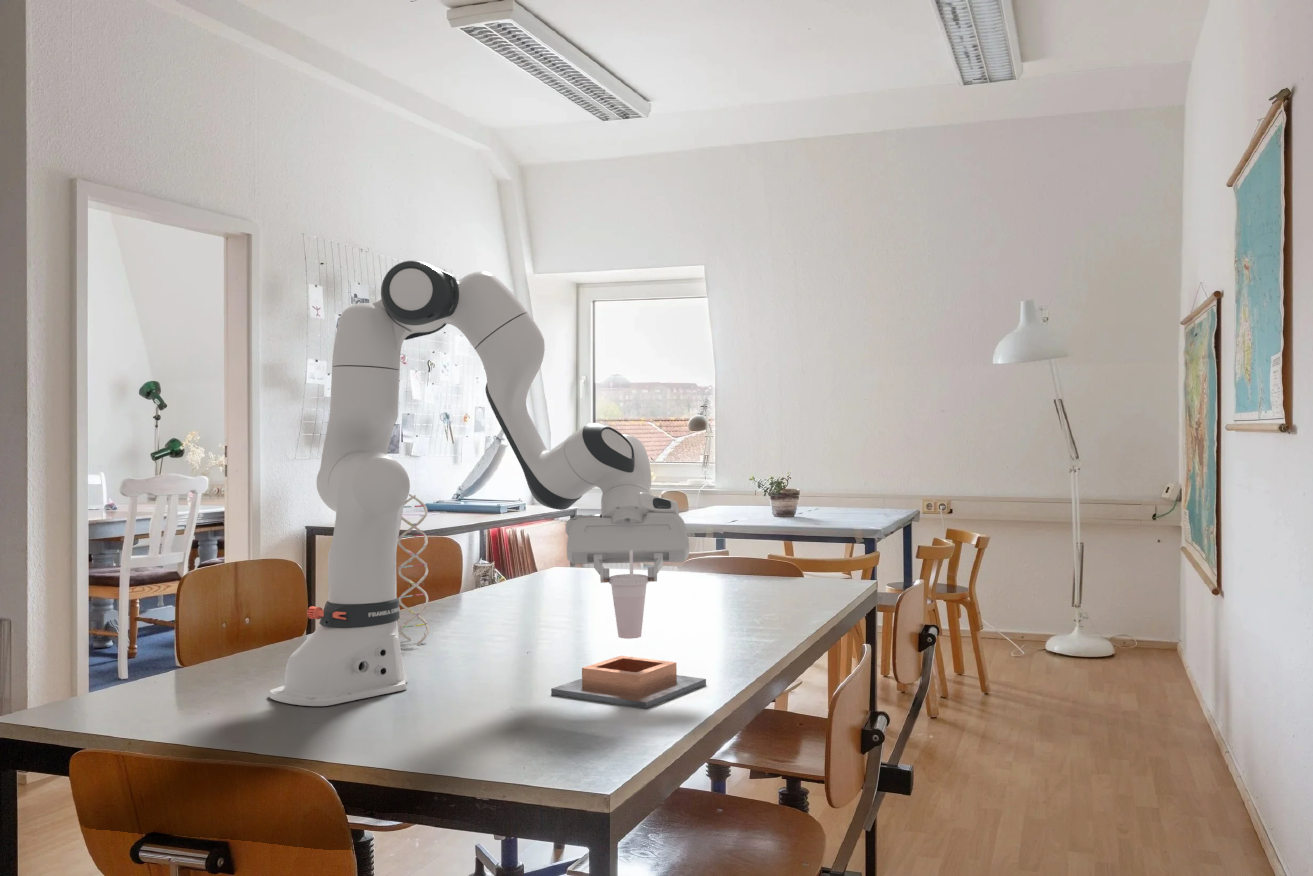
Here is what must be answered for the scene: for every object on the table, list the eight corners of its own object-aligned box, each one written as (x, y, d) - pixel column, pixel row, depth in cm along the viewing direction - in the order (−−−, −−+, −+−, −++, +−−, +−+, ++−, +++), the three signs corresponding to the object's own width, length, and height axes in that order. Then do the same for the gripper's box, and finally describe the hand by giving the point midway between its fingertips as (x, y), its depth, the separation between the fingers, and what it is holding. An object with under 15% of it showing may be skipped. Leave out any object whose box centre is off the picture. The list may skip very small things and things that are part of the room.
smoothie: (635, 641, 166) (634, 553, 166) (602, 638, 169) (600, 551, 169) (656, 634, 171) (655, 548, 171) (624, 631, 174) (622, 547, 174)
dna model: (433, 643, 211) (432, 494, 211) (401, 646, 208) (400, 495, 209) (425, 638, 217) (424, 493, 217) (394, 641, 214) (392, 494, 215)
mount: (645, 709, 157) (645, 682, 157) (551, 694, 167) (551, 669, 167) (706, 685, 172) (705, 660, 173) (616, 673, 182) (615, 650, 182)
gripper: (565, 503, 176) (563, 569, 167) (686, 501, 177) (691, 566, 168) (566, 528, 181) (565, 593, 171) (685, 525, 182) (690, 590, 172)
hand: (628, 580), depth 169 cm, fingers closed on smoothie, 6 cm apart
